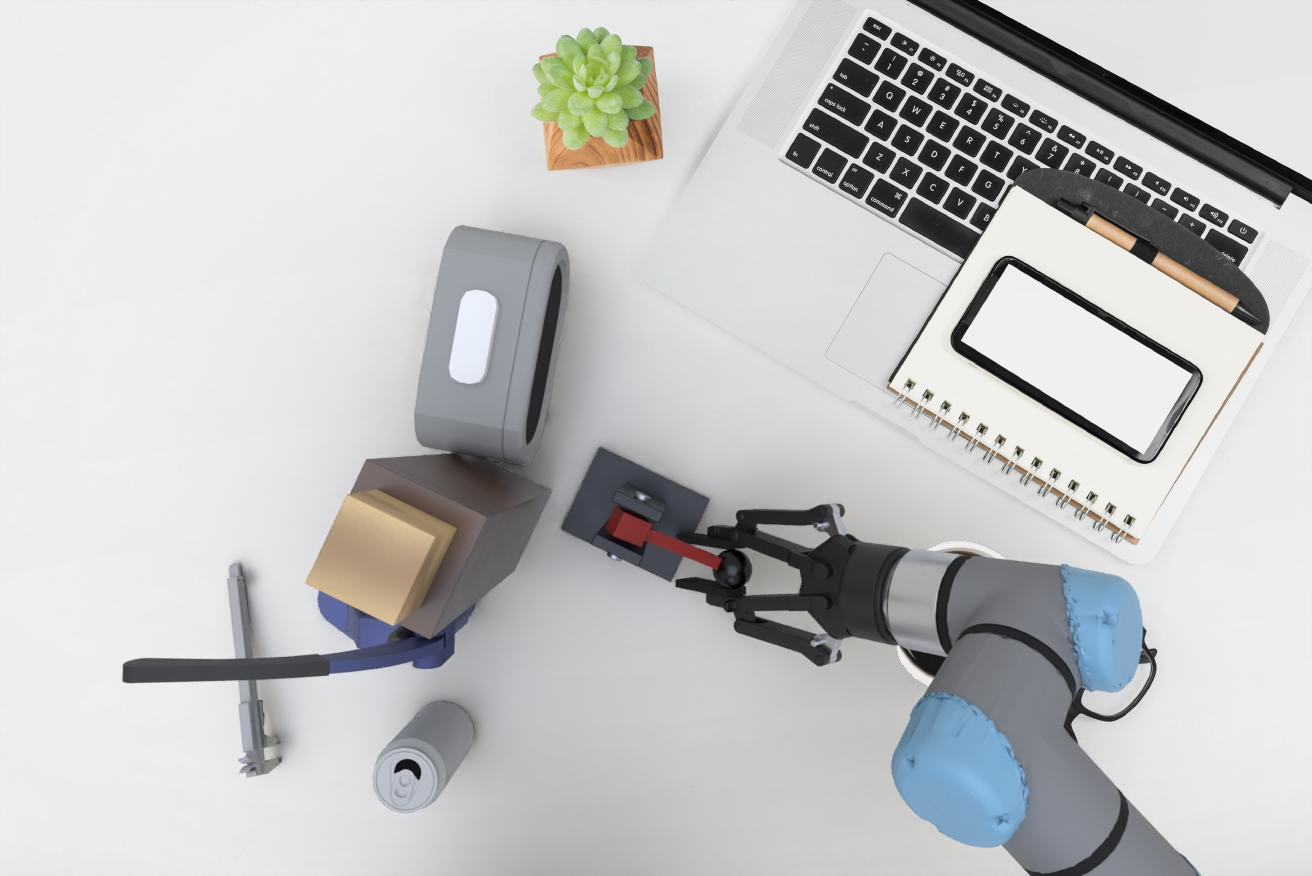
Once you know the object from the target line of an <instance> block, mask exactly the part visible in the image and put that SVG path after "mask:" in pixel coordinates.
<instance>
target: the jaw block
mask: <svg viewBox="0 0 1312 876" xmlns="http://www.w3.org/2000/svg"><path fill="white" fill-rule="evenodd" d="M456 530H457V528H456V527H454V526H452V525H450V524H448V523H446V522H444V521H442V520H440V519H438V518H436V517H434V516H432V515H429V514H427V513H425V512H423V511H421V510H419V509H417V508H415V507H413V506H411V505H409V504H407V503H404V502H402V501H400V500H398V499H396V498H394V497H392V496H390V495H388V494H386V493H384V492H382V491H379V490H377V489H376V490H370V491H365V492H359V493H353V494H350V493H347V494H346V495H345V497H344V499H343V501H342V503H341V506H340V508H339V510H338V512H337V513H336V515H335V519H334V521H333V523H332V525H331V527H330V529H329V531H328V533H327V536H326V538H325V540H324V542H323V544H322V546H321V548H320V550H319V553H318V555H317V557H316V558H315V561H314V563H313V566H312V568H311V569H310V571H309V573H308V576H307V579H306V580H305V585H307V586H309V587H311V588H314V589H316V590H317V591H318V592H319V591H321V592H324V593H326V594H328V595H330V596H332V597H334V598H336V599H338V600H340V601H342V602H344V603H346V604H348V605H350V606H352V607H355V608H357V609H359V610H361V611H363V612H365V613H367V614H369V615H371V616H373V617H375V618H377V619H379V620H381V621H383V622H386V623H388V624H390V625H392V626H394V625H396V624H397V623H399V622H400V621H402V620H403V619H405V618H406V617H408V616H409V615H411V614H413V613H414V612H416V611H417V610H419V609H420V607H421V605H422V602H423V600H424V598H425V596H426V594H427V592H428V590H429V588H430V585H431V583H432V581H433V579H434V577H435V575H436V573H437V571H438V568H439V566H440V564H441V562H442V560H443V558H444V556H445V554H446V551H447V549H448V547H449V545H450V543H451V541H452V539H453V537H454V534H455V532H456Z"/></svg>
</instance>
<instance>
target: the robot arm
mask: <svg viewBox="0 0 1312 876" xmlns="http://www.w3.org/2000/svg"><path fill="white" fill-rule="evenodd" d="M845 513H846V508H845V506H844V505H843V504H842V503H824V504H823V503H821V504H818V505H816V506H814V507H811V508H809V509H790V508H789V509H783V508H750V509H749V508H748V509H739V510H737V511H736V513H735V520H736V524H735V525H734V526H733V525H728V524H727V525H726V524H715V525H709V526H707V527H706V533H703V532H702V533H701V532H694V533H686V534H677V536H676V539H679V540H681V541H684V542H686V543H688V544H691V545H693V546H698V547H704V548H712V549H718V550H723V551H725V550H731V549H737V550H740V549H749V550H752V551H754V552H757V553H760V554H762V555H765V556H767V557H770V558H773V559H774V560H775V559H776V560H778V561H780V562H783V563H786V564H787V566H788V567H791V568H794V569H796V570H799V577H800V586H799V589H798V593H797V592H795V593H771V594H770V593H769V594H748V595H747V586H746V585H745V586H743V587H741V588H739V589H727V588H724V587H722V586H721V585H720V584H719V583H718V582H717V581H716V580H715V579H711V578H705V577H700V576H690V577H683V578H675V584H674V585H675V586H674V587H675V588H676V589H681V590H686V591H687V590H688V591H690V592H691V591H692V592H696V593H702V594H705V603H706V604H708V605H709V606H711V607H712V606H713V607H717V608H721V609H723V610H724V612H725V613H727V614H730V613H731V614H732V613H733V615H734V618H735V620H734V622H733V630H734V631H735V632H736V633H737V634H739V635H743V636H746V637H750V638H752V639H755V640H759V641H761V642H765V643H768V644H771V645H774V646H777V647H779V648H783V649H786V650H790V651H792V652H795V653H799V654H801V655H802V656H804V657H805V659H807V660H809V661H810V662H811V663H813V664H814V665H815V666H816V667H818V668H819V667H820V668H822V667H824V666H827V665H831V664H835V663H838V662H841V660H842V659H843V653H842V651H841V649H840V648H841V646H842V643H843V641H844V640H845V639H849V638H856V639H861V640H866V641H870V642H874V643H880V644H884V645H888V646H895V647H896V646H900V647H902V648H904V649H907V650H910V651H915V652H921V653H926V654H930V655H935V656H940V657H943V658H945V659H944V661H943V662H942V664H941V665H940V667H939V669H938V671H936V674H935V675H934V677H933V679H932V681H931V682H930V684H929V686H928V687H927V689H926V691H925V692H924V694H923V696H922V697H920V698H919V699H918V701H917V702H916V703H915V705H914V706H913V707H912V710H911V713H910V714H909V716H910V718H909V720H908V723H907V724H906V726H905V728H904V731H903V733H902V735H901V737H900V738H899V741H898V743H897V746H896V747H895V749H894V751H893V753H892V758H891V763H890V768H891V769H890V770H891V776H892V780H893V783H894V786H895V788H896V790H897V792H898V794H899V795H900V797H901V798H902V800H903V801H904V803H905V804H906V805H907V807H909V809H910V810H911V811H912V812H913V813H914V814H915V815H916V816H918V818H920V819H921V820H923V821H926V822H929V823H930V824H932V825H933V826H935V828H936V829H937V831H938V832H939V833H941V834H942V835H944V836H946V837H947V838H949V839H951V840H953V841H956V842H959V843H961V844H964V845H967V846H971V847H975V848H981V849H990V848H997V847H1000V846H1002V847H1003V848H1004V849H1005V851H1006V852H1007V853H1008V854H1009V855H1010V856H1011V857H1012V858H1013V859H1014V861H1016V863H1018V864H1019V866H1020V867H1021V868H1022V869H1023V870H1024V871H1025V872H1026V874H1028V875H1029V876H1202V874H1201V873H1200V872H1199V870H1198V869H1197V868H1196V867H1195V865H1193V864H1192V862H1191V861H1190V860H1189V859H1188V858H1187V857H1186V856H1185V855H1183V854H1182V853H1180V852H1179V851H1178V850H1177V849H1176V848H1175V847H1174V846H1173V845H1172V844H1171V843H1170V842H1169V841H1168V840H1167V839H1166V838H1165V837H1164V836H1163V834H1161V833H1160V831H1158V829H1157V828H1156V827H1155V826H1154V825H1153V824H1152V823H1151V822H1150V820H1148V819H1147V818H1146V817H1145V816H1144V815H1143V814H1142V812H1140V810H1139V809H1138V808H1137V807H1136V806H1135V805H1134V804H1133V803H1132V802H1131V800H1129V799H1128V798H1127V797H1126V796H1125V794H1124V793H1123V792H1122V790H1121V789H1120V788H1118V786H1117V785H1116V784H1115V783H1114V782H1113V781H1112V779H1111V778H1110V777H1109V776H1108V775H1107V774H1106V773H1105V772H1104V771H1103V770H1102V769H1101V767H1099V765H1097V763H1096V762H1095V761H1094V760H1093V759H1092V758H1091V757H1090V756H1089V754H1088V753H1086V751H1085V750H1084V749H1083V748H1082V747H1081V746H1080V744H1078V742H1077V741H1076V740H1075V739H1074V738H1073V737H1071V736H1070V734H1069V733H1068V732H1067V731H1066V729H1065V727H1064V725H1065V722H1066V719H1067V716H1068V712H1069V711H1070V709H1071V706H1072V704H1073V702H1074V700H1075V698H1076V695H1077V693H1078V691H1079V690H1080V688H1082V689H1084V690H1085V691H1089V692H1090V693H1093V692H1096V691H1099V692H1104V693H1108V694H1109V693H1110V694H1111V693H1114V694H1115V693H1119V692H1122V691H1123V690H1124V689H1125V688H1126V687H1127V685H1129V684H1130V683H1131V682H1132V681H1133V679H1134V678H1135V675H1136V673H1137V670H1138V667H1139V663H1140V659H1141V654H1142V649H1143V648H1142V646H1143V637H1144V625H1143V623H1144V621H1143V613H1142V608H1141V603H1140V599H1139V596H1138V594H1137V591H1136V590H1135V588H1134V587H1133V585H1131V583H1130V582H1129V581H1127V580H1126V579H1125V578H1123V577H1121V576H1119V575H1116V574H1112V573H1108V572H1107V573H1106V572H1103V571H1102V572H1101V571H1095V570H1090V569H1085V568H1081V567H1075V566H1070V565H1069V564H1067V563H1061V564H1060V565H1059V564H1048V563H1040V562H1032V561H1024V560H1023V561H1022V560H1014V559H1006V558H997V557H987V556H978V555H971V554H960V553H953V552H945V551H938V550H931V549H924V548H923V549H922V548H914V549H911V548H909V547H907V546H902V545H901V546H899V545H893V544H892V545H891V544H884V543H875V542H868V541H862V540H860V539H858V538H857V537H855V536H854V535H853V534H851V533H847V532H846V528H845V526H844V523H843V520H842V518H843V517H844V516H845ZM758 525H767V526H770V525H771V526H794V527H805V526H812V527H813V528H814V529H816V531H817V532H819V533H826V534H827V535H828V536H829V537H828V538H827V539H825V540H824V541H823V542H822V543H820V544H819V545H817V546H816V547H807V546H805V545H801V544H798V543H796V542H793V541H791V540H787V539H785V538H782V537H779V536H776V535H774V534H771V533H768V532H765V531H762V530H760V529H759V527H758ZM756 612H807V613H808V615H810V616H811V617H812V618H813V620H814V621H815V622H816V623H817V624H818V625H819V627H821V628H822V630H824V632H825V633H819V634H818V633H816V632H815V633H814V632H812V631H809V630H805V629H804V630H803V629H801V628H798V627H795V626H791V625H789V624H785V623H781V622H778V621H774V620H770V619H768V618H764V617H761V616H757V615H756Z"/></svg>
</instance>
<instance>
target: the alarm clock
mask: <svg viewBox="0 0 1312 876" xmlns="http://www.w3.org/2000/svg"><path fill="white" fill-rule="evenodd" d="M570 264H571V263H570V256H569V252H568V250H567V248H566V246H565V245H564V244H563V243H562V242H559V241H554V240H548V239H547V240H546V239H544V238H538V237H531V236H525V235H520V234H514V233H509V232H503V231H498V230H492V229H485V228H481V227H474V226H470V225H463V224H460V225H457V226H455V227H454V228H453V229H452V231H451V232H450V233H449V235H448V237H447V240H446V242H445V245H444V247H443V250H442V255H441V259H440V263H439V268H438V273H437V277H436V282H435V288H434V291H433V292H434V293H433V297H432V298H433V299H432V304H431V310H430V314H429V321H428V327H427V332H426V336H425V342H424V347H423V354H422V358H421V365H420V370H419V376H418V382H417V389H416V397H415V403H414V412H413V418H414V419H413V421H414V433H415V437H416V440H417V442H418V443H419V445H420V446H421V447H423V448H427V449H432V450H437V451H444V452H449V453H459V454H464V455H469V456H475V457H480V458H486V459H488V460H490V461H498V462H503V463H507V464H508V463H509V464H513V465H519V466H525V465H526V464H528V463H530V462H531V461H532V460H533V459H534V458H535V456H536V453H537V451H538V448H539V446H540V443H541V439H542V436H543V433H544V429H545V425H546V424H545V423H546V418H547V413H548V411H549V410H548V409H549V404H550V399H551V393H552V389H553V383H554V377H555V371H556V366H557V362H558V361H557V360H558V355H559V349H560V344H561V339H562V333H563V326H564V323H565V315H566V310H567V305H568V297H569V290H570V280H571V279H570V277H571V265H570Z"/></svg>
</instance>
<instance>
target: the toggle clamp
mask: <svg viewBox="0 0 1312 876" xmlns="http://www.w3.org/2000/svg"><path fill="white" fill-rule="evenodd" d="M710 501H711V499H710V498H709V497H708V496H705V495H703V494H702V493H699V492H697V491H695V490H693V489H691V488H689V487H687V486H685V485H683V484H680V483H678V482H676V481H674V480H672V479H670V478H668V477H666V476H663V475H661V474H659V473H657V472H655V471H653V470H650V469H648V468H646V467H645V466H642V465H641V464H638V463H636V462H634V461H632V460H630V459H628V458H626V457H623V456H621V455H619V454H617V453H615V452H613V451H611V450H609V449H607V448H605V447H602V446H599V447H598V449H597V451H596V454H595V456H594V458H593V460H592V462H591V463H590V466H589V468H588V471H587V472H586V475H585V477H584V479H583V481H582V483H581V485H580V487H579V490H578V492H577V493H576V496H575V498H574V500H573V502H572V504H571V506H570V509H569V511H568V512H567V515H566V517H565V518H564V521H563V523H562V526H561V528H560V530H561V531H563V532H564V533H566V534H569V535H571V536H573V537H575V538H577V539H580V540H582V541H584V542H585V543H588V544H590V545H592V546H594V547H596V548H598V549H600V550H602V551H604V552H606V556H607V557H608V558H609V559H612V560H614V561H617V562H622V560H623V561H625V562H627V563H629V564H631V565H633V566H635V567H638V568H640V569H642V570H644V571H647V572H649V573H650V574H653V575H654V576H657V577H658V578H661V579H663V580H665V581H667V582H670V583H671V582H672V581H673V579H674V577H675V575H676V572H677V570H678V568H679V566H680V564H681V562H682V560H683V558H684V556H681V555H679V554H676V553H674V552H672V551H669V550H667V549H664V548H662V547H659V546H657V545H654V544H652V543H650V542H647V541H644V543H643V545H642V547H639V546H637V545H634V544H632V543H629V542H627V541H624V540H622V539H619V538H617V537H614V536H613V535H612V534H611V533H610V532H609V531H608V530H607V529H606V526H607V523H608V521H609V519H610V517H611V515H612V513H613V511H614V509H615V507H616V506H619V507H621V508H624V509H626V510H628V511H631V512H633V513H636V514H638V515H640V516H643V517H644V518H645V519H647V520H648V521H649V522H650V523H652V526H651V528H652V529H655V530H657V531H660V532H662V533H664V534H667V535H669V536H672V537H674V538H676V536H677V534H686V533H696V530H697V528H698V526H699V524H700V522H701V520H702V518H703V515H704V514H705V511H706V509H707V508H708V505H709V503H710Z"/></svg>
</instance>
